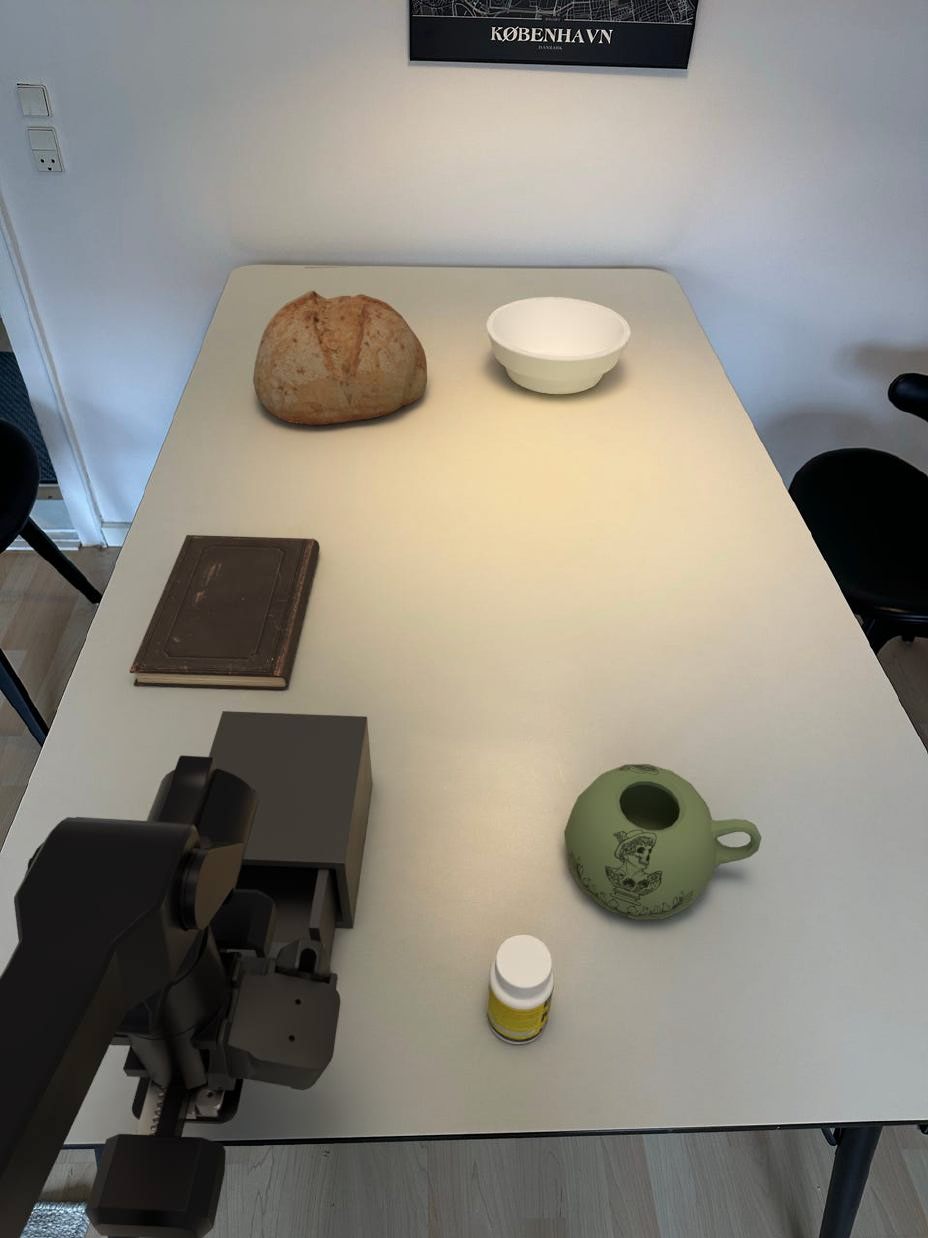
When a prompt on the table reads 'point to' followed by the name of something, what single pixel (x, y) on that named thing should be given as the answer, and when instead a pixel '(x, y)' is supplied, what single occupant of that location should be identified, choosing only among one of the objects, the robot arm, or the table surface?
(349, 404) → the bread
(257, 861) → the cabinet
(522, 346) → the bowl
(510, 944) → the supplement bottle
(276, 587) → the hardcover book
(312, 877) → the drawer
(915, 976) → the table surface
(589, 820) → the mug
